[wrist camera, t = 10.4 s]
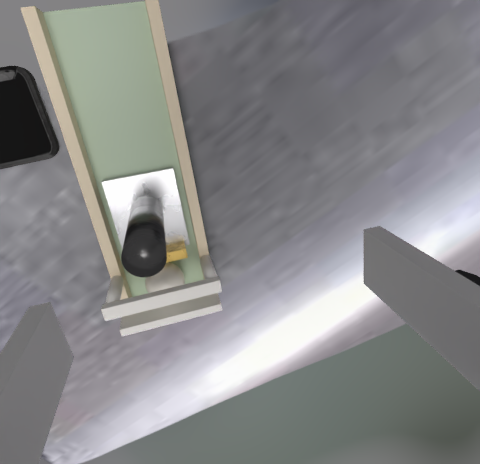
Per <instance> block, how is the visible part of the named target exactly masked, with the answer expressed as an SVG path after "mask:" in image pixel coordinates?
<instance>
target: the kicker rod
mask: <svg viewBox="0 0 480 464" xmlns="http://www.w3.org/2000/svg"><path fill="white" fill-rule="evenodd" d="M102 185H103V189H104V192H105V195H106V198H107V202H108V205H109V208H110V211H111V215H112V218H113V221H114V224H115V227H116V231H117V234H118V237H119V240H120V244H121V247H122V254H121V261H122V264H123V266H124V268H125V269H126V270H127V271H128V272H129V273H130V274H132V275H134V276H137V277H151V276H154V275H156V274H157V273H159V272H160V271H161V270H162V269H163V268H164V266H165V264H166V263H167V262H172V261H176V260H180V259H185V258H188V256H187V251H186V247H185V245H189V244H190V242H189V238H188V233H187V229H186V224H185V220H184V215H183V211H182V206H181V202H180V197H179V193H178V188H177V184H176V179H175V175H174V170H173V167H168V168H162V169H157V170H152V171H146V172H141V173H136V174H131V175H125V176H120V177H115V178H109V179H104V180H102Z"/></svg>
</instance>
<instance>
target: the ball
mask: <svg viewBox="0 0 480 464" xmlns="http://www.w3.org/2000/svg"><path fill="white" fill-rule="evenodd" d="M184 284H185V278H184V274H183V272H182V270H181V269H180V268H179V267H178V266H177V265H175V264H173V263H169V262H167V263H166V264H165V266H164V268H163V269H162V270H161V271H160V272H159V273H157V274H156V275H154V276H151V277H146V279H145V286H146V289H147V291H148V293H151V292H155V291H159V290H163V289H167V288H171V287H176V286H180V285H184Z"/></svg>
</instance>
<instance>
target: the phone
mask: <svg viewBox="0 0 480 464" xmlns="http://www.w3.org/2000/svg"><path fill="white" fill-rule="evenodd" d="M36 85H37V83H36V81H35V78H34V76H33V75H32V74H31V73H30V72H29V71H28V70H26V69H25V68H21V67H18V66H7V67H1V68H0V169H3V168H8V167H12V166H17V165H22V164H26V163H31V162H36V161H40V160H45V159H49V158H52V157H53V156H55V155H56V154H57V152H58V150H59V144H58V141H57V138H56V135H55V133H54V130H53V128H52V125H51V122H50V120H49V117H48V115H47V112H46V109H45V107H44V104H43V102H42V99H41V97H40V94H39V91H38V89H37V86H36Z"/></svg>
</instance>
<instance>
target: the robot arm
mask: <svg viewBox="0 0 480 464" xmlns="http://www.w3.org/2000/svg"><path fill="white" fill-rule="evenodd" d="M364 284H365V285H366V286H367V287H368V288H369V289H370V290H372V291H373V292H374V293H375V294H376V295H377V296H378V297H379V298H380V299H381V300H382V301H383V302H384V303H386V304H387V305H388V306H389V307H390V308H391V309H392V310H393V311H394V312H395V313H396V314H397V315H398V316H399V317H401V318H402V319H403V320H404V321H405V322H406V323H407V324H408V325H409V326H410V327H411V328H412V329H413V330H415V331H416V332H417V333H418V334H419V335H420V336H421V337H422V338H423V339H424V340H425V341H426V342H428V343H429V344H430V345H431V346H432V347H433V348H434V349H435V350H436V351H437V352H438V353H439V354H440V355H441V356H442V357H444V358H445V359H446V360H447V361H448V362H449V363H450V364H451V365H452V366H453V367H454V368H455V369H457V370H458V371H459V372H460V373H461V374H462V375H463V376H464V377H465V378H466V379H467V380H468V381H469V382H471V384H473V385H474V386H475V387H476V388H477V389H478V390H479V391H480V277H478V276H476V275H474V274H471V273H468V272H465V271H461V270H457V271H454V270H452V269H450V268H449V267H447V266H445V265H444V264H442V263H440V262H439V261H437V260H435V259H434V258H432V257H430V256H429V255H427V254H425V253H424V252H422V251H420V250H419V249H417V248H415V247H414V246H412V245H410V244H409V243H407V242H405V241H404V240H402V239H400V238H399V237H397V236H395V235H394V234H392V233H391V232H389V231H387V230H386V229H384V228H382V227H381V226H377V227H373V228H369V229H364ZM73 359H74V355H73V353H72V351H71V349H70V346H69V344H68V342H67V339H66V337H65V335H64V333H63V330H62V328H61V326H60V323H59V321H58V319H57V317H56V314H55V312H54V310H53V307H52V305H51V303H50V302H48V303H44V304H39V305H35V306H31V307H29V308H28V310H27V311H26V313H25V314H24V316H23V318H22V319H21V321H20V322H19V324H18V326H17V327H16V329H15V331H14V332H13V334H12V335H11V337H10V339H9V340H8V342H7V343H6V345H5V347H4V348H3V350H2V352H1V353H0V464H39V461H40V458H41V455H42V452H43V449H44V446H45V443H46V440H47V437H48V434H49V431H50V428H51V425H52V422H53V419H54V416H55V413H56V410H57V407H58V404H59V401H60V398H61V395H62V392H63V389H64V386H65V383H66V380H67V377H68V374H69V371H70V368H71V365H72V362H73Z"/></svg>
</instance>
